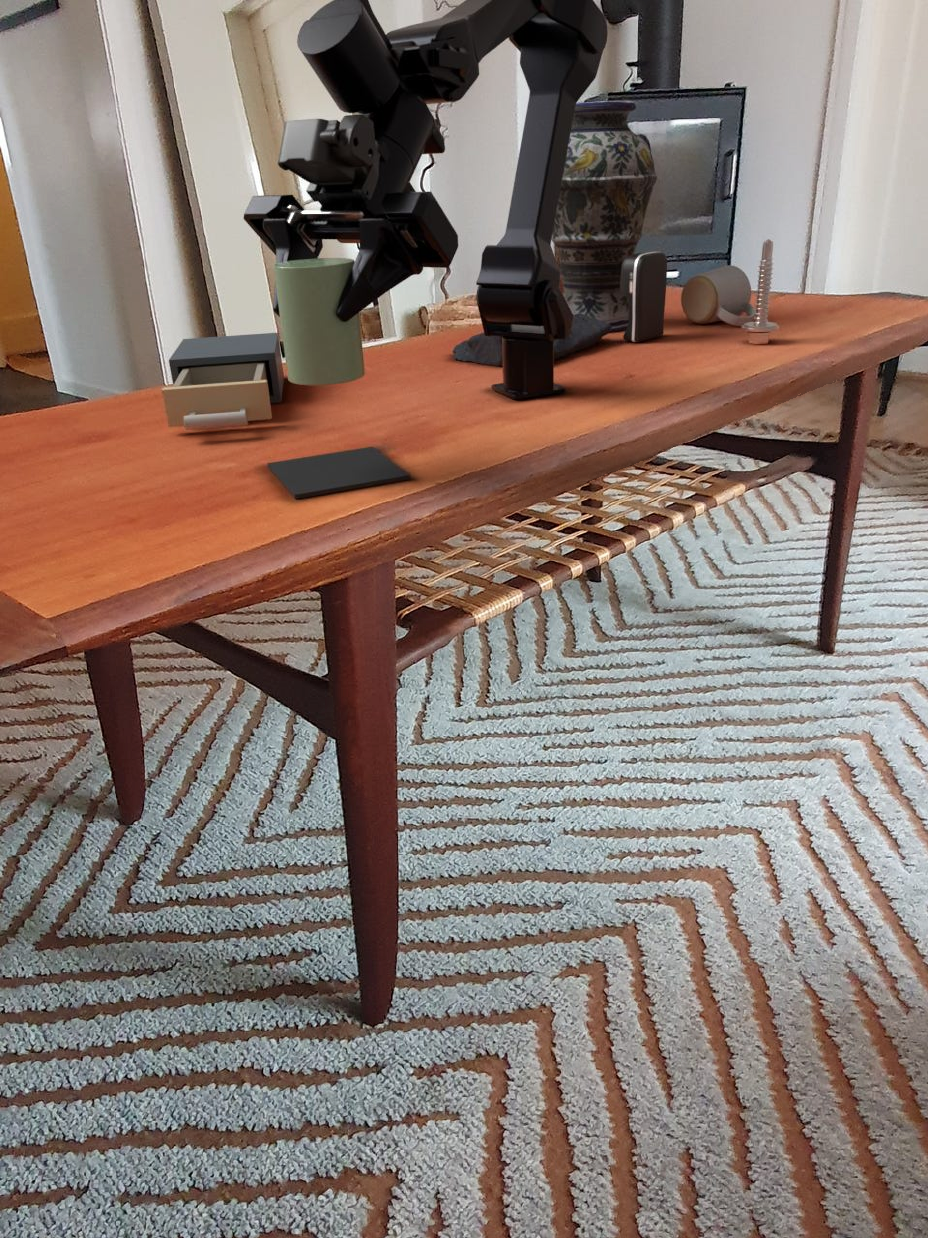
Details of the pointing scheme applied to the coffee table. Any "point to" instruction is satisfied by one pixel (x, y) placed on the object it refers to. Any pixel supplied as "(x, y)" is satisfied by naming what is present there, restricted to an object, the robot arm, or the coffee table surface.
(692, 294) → the ceramic mug
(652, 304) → the battery charger
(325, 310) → the can
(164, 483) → the coffee table surface
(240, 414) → the drawer
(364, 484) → the coaster
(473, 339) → the dark slate chunk
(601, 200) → the vase
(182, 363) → the cabinet
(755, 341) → the screw
